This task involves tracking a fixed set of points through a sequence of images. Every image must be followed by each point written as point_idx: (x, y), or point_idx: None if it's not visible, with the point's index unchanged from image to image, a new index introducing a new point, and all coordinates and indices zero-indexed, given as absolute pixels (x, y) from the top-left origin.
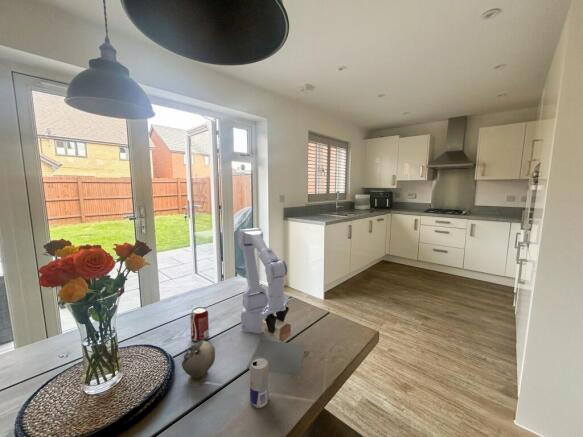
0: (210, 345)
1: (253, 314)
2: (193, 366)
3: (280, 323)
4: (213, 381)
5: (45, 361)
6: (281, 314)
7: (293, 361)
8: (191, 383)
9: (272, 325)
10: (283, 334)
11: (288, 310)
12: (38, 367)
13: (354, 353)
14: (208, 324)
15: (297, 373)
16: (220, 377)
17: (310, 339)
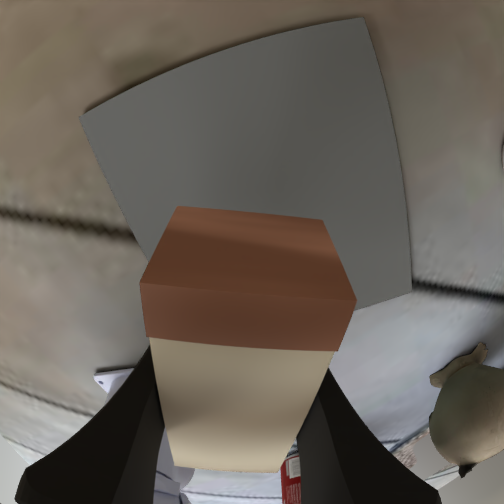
0: (486, 441)
1: (165, 468)
2: None
3: (209, 389)
4: (473, 331)
5: (430, 485)
6: (139, 472)
7: (265, 94)
8: (481, 362)
9: (366, 430)
10: (334, 260)
11: (31, 468)
12: (441, 480)
13: None
14: (292, 487)
15: (350, 31)
16: (458, 329)
17: (18, 131)
